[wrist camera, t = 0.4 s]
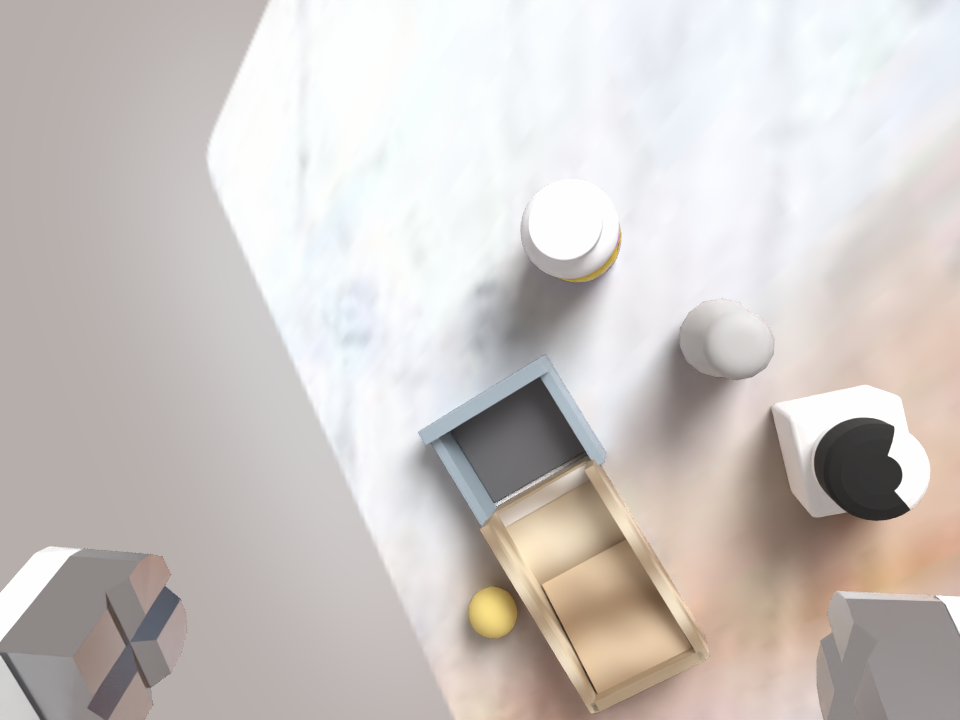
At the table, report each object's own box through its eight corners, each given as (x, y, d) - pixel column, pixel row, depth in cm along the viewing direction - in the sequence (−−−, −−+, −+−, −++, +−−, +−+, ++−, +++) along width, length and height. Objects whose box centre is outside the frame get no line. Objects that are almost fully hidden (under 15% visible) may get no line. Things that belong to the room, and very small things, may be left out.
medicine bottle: (790, 493, 58) (831, 542, 46) (769, 403, 58) (804, 429, 46) (889, 475, 56) (957, 521, 45) (868, 383, 56) (930, 404, 44)
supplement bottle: (634, 262, 59) (635, 251, 46) (556, 295, 60) (536, 294, 48) (601, 183, 59) (593, 151, 46) (524, 219, 60) (495, 197, 48)
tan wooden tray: (702, 622, 60) (710, 657, 54) (595, 676, 62) (592, 715, 56) (596, 449, 60) (592, 465, 55) (493, 508, 63) (479, 529, 57)
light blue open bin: (606, 452, 60) (603, 466, 55) (492, 517, 63) (480, 535, 58) (545, 354, 61) (538, 358, 56) (434, 422, 63) (417, 432, 58)
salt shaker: (684, 379, 59) (698, 401, 46) (670, 307, 58) (681, 309, 46) (762, 365, 57) (799, 384, 45) (748, 292, 57) (781, 289, 45)
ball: (529, 612, 63) (522, 633, 59) (489, 633, 63) (480, 655, 60) (504, 571, 63) (496, 589, 59) (465, 592, 64) (454, 612, 60)
